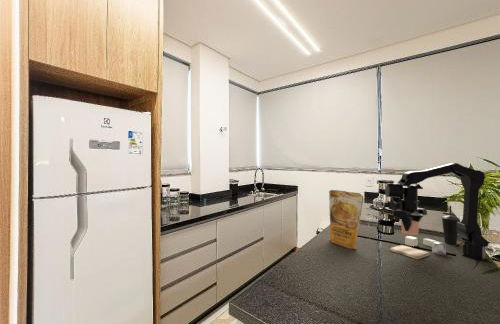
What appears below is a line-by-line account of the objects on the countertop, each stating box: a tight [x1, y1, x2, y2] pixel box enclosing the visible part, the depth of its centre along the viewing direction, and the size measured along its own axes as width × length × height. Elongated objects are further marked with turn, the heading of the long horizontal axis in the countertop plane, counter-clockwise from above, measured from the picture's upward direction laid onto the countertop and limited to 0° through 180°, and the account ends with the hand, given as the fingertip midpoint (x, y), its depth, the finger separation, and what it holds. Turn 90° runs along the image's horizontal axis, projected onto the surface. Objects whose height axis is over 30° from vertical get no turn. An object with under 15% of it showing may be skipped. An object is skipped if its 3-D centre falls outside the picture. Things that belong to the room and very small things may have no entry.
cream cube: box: [404, 235, 419, 248], centre depth 122 cm, size 4×4×4 cm
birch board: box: [389, 244, 430, 260], centre depth 111 cm, size 12×10×1 cm
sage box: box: [422, 237, 436, 248], centre depth 121 cm, size 6×3×3 cm, turn 17°
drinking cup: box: [441, 205, 461, 245], centre depth 125 cm, size 8×8×20 cm
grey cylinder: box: [431, 240, 447, 256], centre depth 111 cm, size 5×5×5 cm
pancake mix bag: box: [328, 189, 364, 250], centre depth 123 cm, size 7×19×28 cm, turn 31°
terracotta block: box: [400, 220, 419, 237], centre depth 112 cm, size 5×5×6 cm
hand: (409, 230), depth 112 cm, fingers closed on terracotta block, 5 cm apart
